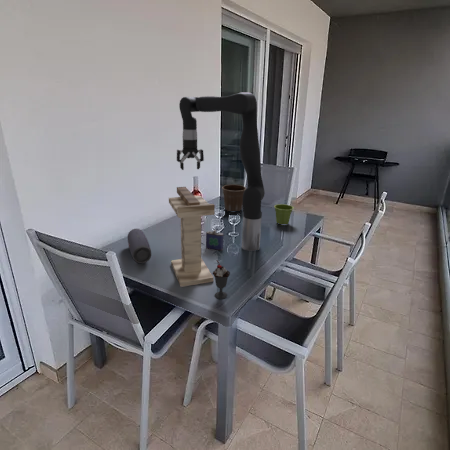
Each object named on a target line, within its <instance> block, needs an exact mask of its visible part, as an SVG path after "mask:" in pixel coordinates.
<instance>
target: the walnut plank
mask: <svg viewBox="0 0 450 450" xmlns="http://www.w3.org/2000/svg"><path fill="white" fill-rule="evenodd" d="M176 193H177V195H178V197H181V199H182V200H183V201H184V202H185V204H186V205H187V206H191V205H200V202H199V201H198V200H197V199H196V198H195V196H196V195H194V194H193V193H192V191H190V190H189V188H187V186H177V187H176Z"/></svg>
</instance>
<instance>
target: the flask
mask: <svg viewBox="0 0 450 450" xmlns="http://www.w3.org/2000/svg"><path fill="white" fill-rule="evenodd" d="M205 234H206V235H205V248H206V249H207V250H211V251H218V252H221V251H224V236H225V235H224V233H223V232H217V229H213V231H211V230H209V231H206V232H205Z"/></svg>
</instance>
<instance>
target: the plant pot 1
mask: <svg viewBox="0 0 450 450" xmlns="http://www.w3.org/2000/svg"><path fill="white" fill-rule="evenodd" d="M221 188H222V191H223V192H222V193H223V203H224V210H225V209H226V210H227V211H226V210H225V211H226V212H228V211H240V210H242V207H243V193H244V191H245V189H247V186H244V185H241V184H225V185H224V186H222V187H221ZM242 211H243V210H242ZM240 212H241V211H240Z"/></svg>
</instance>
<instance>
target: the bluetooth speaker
mask: <svg viewBox="0 0 450 450" xmlns="http://www.w3.org/2000/svg"><path fill="white" fill-rule="evenodd" d="M127 243H128V248H129V252H130V254H131V257H132V259H133V260H134V261H135V262H136V263H137V264H145V263H147V262H149V261H150V259H151V258H152V249H151V245H150V243H149V241H148V238H147V236H146V234H145V233H144V231H142V229H140V228H134V229H133V228H132V229H130V230H129V232H128V234H127Z"/></svg>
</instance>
